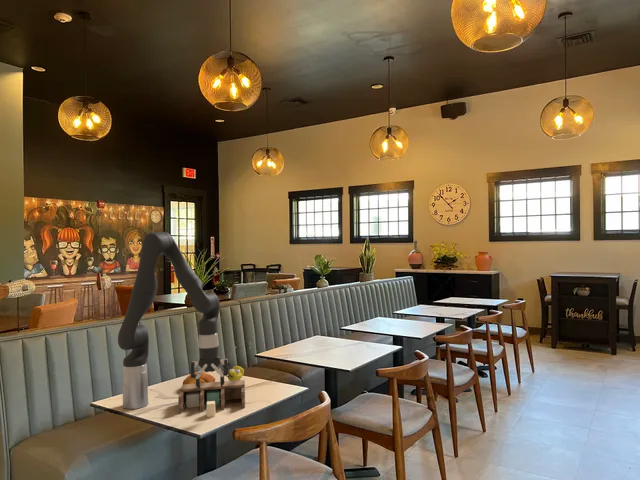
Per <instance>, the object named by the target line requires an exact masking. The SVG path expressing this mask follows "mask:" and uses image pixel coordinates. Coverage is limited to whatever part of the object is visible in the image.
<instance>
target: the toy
mask: <svg viewBox="0 0 640 480" xmlns="http://www.w3.org/2000/svg"><path fill="white" fill-rule="evenodd" d="M230 365H231V364H230V362H229V361H228V369H229V368H230ZM222 368H223V372H225V365H223V364H222ZM244 373H245V369H244V368H243V367H242V366H239V365H236V366H233V367H232V368H230V369H229V374H228V375H225V377H227V379H228V381H236V380H242V378H243V376H244Z"/></svg>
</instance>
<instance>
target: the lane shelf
mask: <svg viewBox="0 0 640 480" xmlns="http://www.w3.org/2000/svg"><path fill="white" fill-rule="evenodd" d="M245 382H246V381H245V379H240V380H236V381H229V380H226V381H225V380H224V385H223V386H222V387H221V384H220V381H215V382H209V383H200V388H199V389H198V387H196V384H183V383H182V386H181V387H180V392H179V394H178V396H177V398H178V402H177V403H178V414H183V411H184V409H185V407H186V405H187V402H186V395H187V392H189V391H200V406H199V412H200V413H201V412H204V410H205V407H206V404H207V391H208V390H212V389H220V409H221V411H224V410H225V408H226V407H225V406H226V401H227V400H228V401H229V400H238V399H241V409H245V408H246V383H245Z"/></svg>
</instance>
